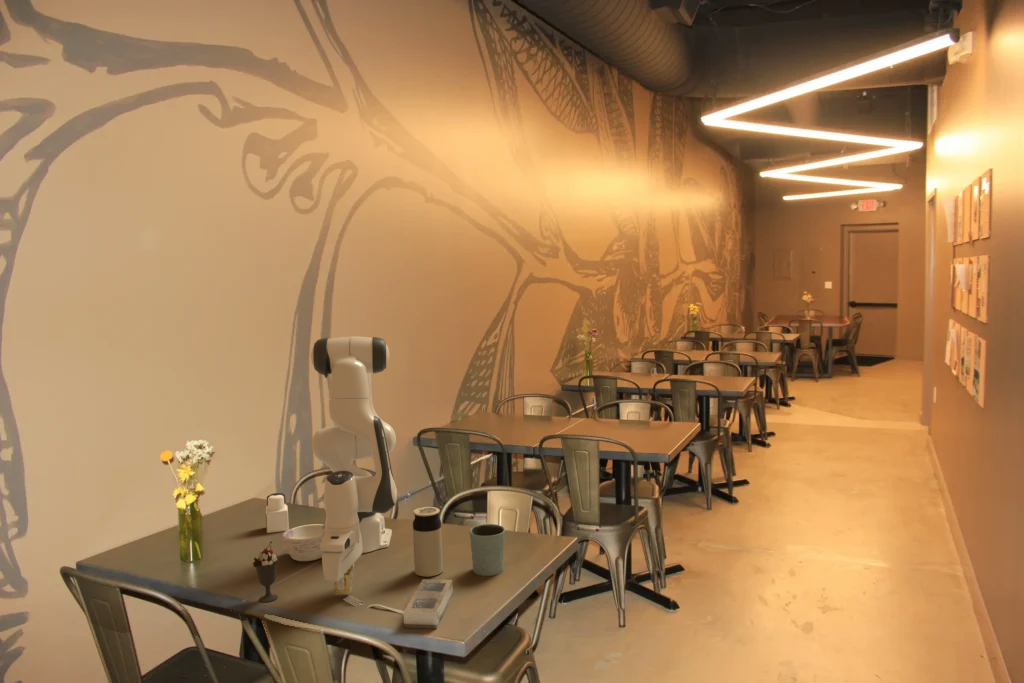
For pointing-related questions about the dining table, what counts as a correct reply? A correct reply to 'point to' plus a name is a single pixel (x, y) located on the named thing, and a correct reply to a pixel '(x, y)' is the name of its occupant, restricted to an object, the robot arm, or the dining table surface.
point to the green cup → (487, 549)
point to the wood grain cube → (348, 582)
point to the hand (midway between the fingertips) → (345, 584)
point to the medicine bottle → (276, 513)
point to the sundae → (266, 572)
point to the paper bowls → (304, 542)
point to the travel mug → (427, 542)
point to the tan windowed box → (428, 604)
